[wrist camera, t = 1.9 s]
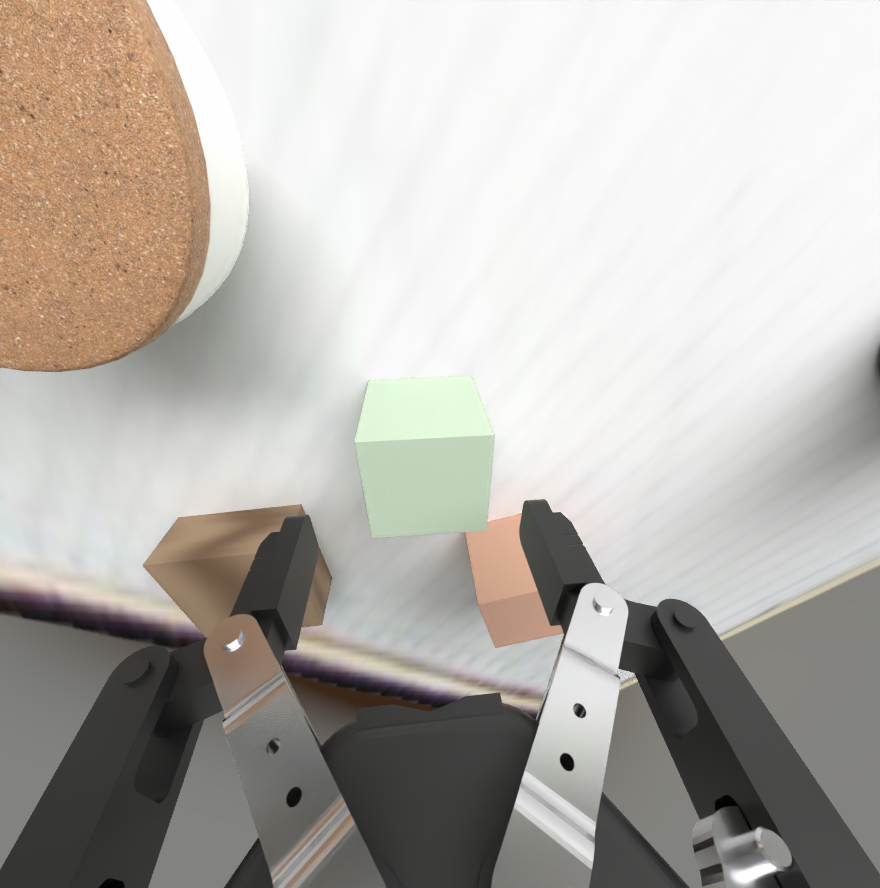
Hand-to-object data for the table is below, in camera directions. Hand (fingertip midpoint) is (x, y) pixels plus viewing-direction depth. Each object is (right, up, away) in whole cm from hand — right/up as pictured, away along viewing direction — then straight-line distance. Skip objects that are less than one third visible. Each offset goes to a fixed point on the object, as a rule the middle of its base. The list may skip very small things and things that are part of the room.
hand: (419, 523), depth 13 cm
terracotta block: (+6, -4, +13) cm, 15 cm away
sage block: (0, +4, +7) cm, 8 cm away
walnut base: (-12, -5, +12) cm, 18 cm away
